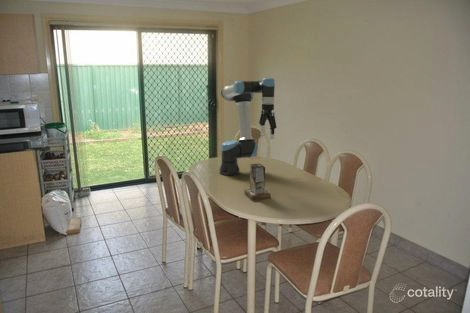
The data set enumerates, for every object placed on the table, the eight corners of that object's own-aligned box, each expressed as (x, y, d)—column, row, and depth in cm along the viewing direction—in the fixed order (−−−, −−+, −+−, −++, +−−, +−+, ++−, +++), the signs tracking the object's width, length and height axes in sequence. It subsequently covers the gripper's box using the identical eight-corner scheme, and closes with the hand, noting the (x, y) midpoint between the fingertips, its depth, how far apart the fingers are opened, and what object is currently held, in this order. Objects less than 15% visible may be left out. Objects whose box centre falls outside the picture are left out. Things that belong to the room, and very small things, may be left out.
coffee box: (265, 193, 210) (265, 167, 206) (255, 194, 208) (255, 168, 204) (258, 188, 219) (259, 163, 215) (249, 189, 216) (249, 164, 213)
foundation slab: (244, 194, 217) (244, 189, 216) (262, 191, 221) (262, 187, 221) (252, 200, 206) (252, 195, 206) (270, 198, 210) (270, 193, 210)
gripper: (254, 102, 229) (253, 134, 234) (271, 105, 206) (270, 141, 211) (264, 101, 231) (264, 133, 237) (282, 105, 209) (281, 140, 214)
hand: (267, 137), depth 224 cm, fingers open, 13 cm apart
